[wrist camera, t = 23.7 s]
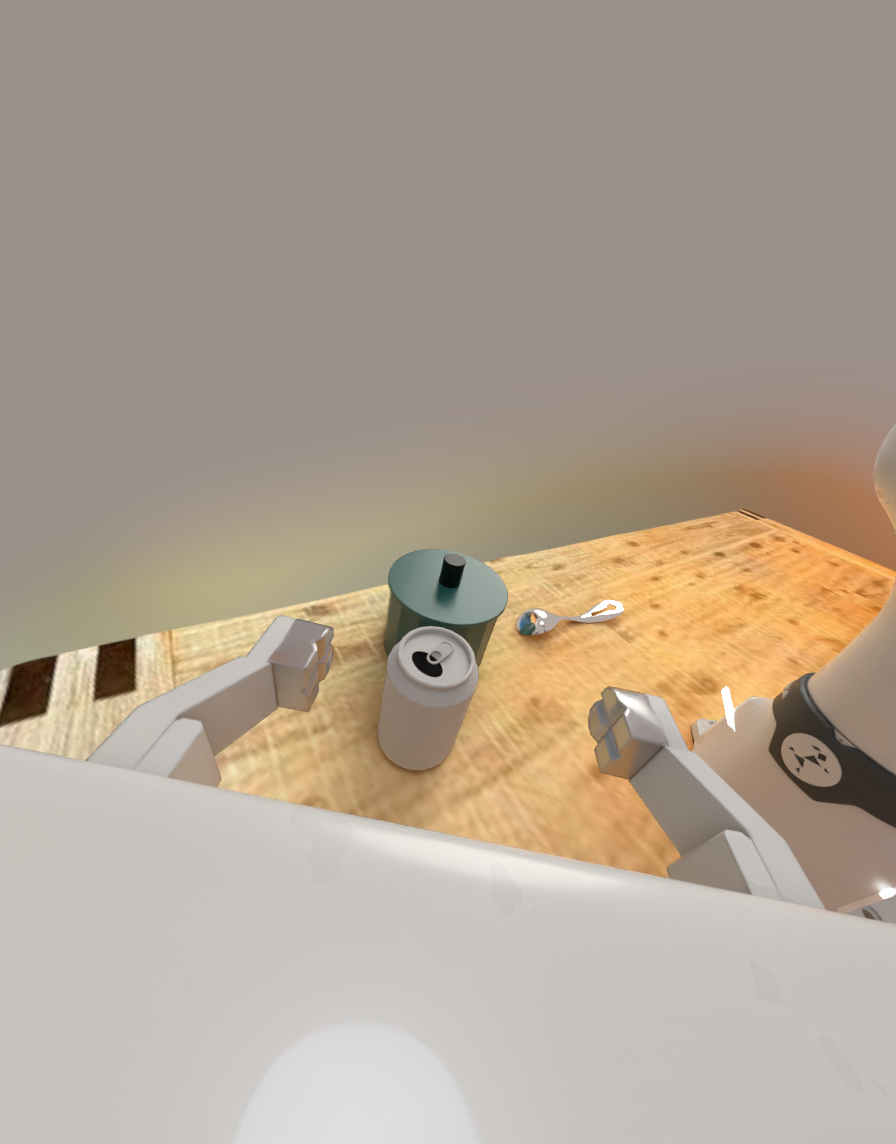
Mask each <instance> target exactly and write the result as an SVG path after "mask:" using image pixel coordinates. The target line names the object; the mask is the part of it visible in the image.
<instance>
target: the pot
mask: <svg viewBox="0 0 896 1144" xmlns="http://www.w3.org/2000/svg"><path fill="white" fill-rule="evenodd" d="M496 620H497V618H496V619H495V620H494V621H492V622H490V623H487V624H485V625H482V626H477V627H470V628H454V627H446V626H441V625H437V624H434V623H431V622H428V621H425V620H423V619H421V618H419V617H417V616H415V615H413V614H412V613H410V612H409V611H407V610H406V609H405V608H403V607H402V606H401V605H400V604H399V603H398V602H397V601H396V599H395V598H394V596H393V595H392V593H391V591H390V599H389V606H388V613H387V621H386V628H385V649H386V653H387V655H388V657H389V654H390V653H391V651H392V649H393V648H394V646H395V645H396V644H398V643H399V642H400V641H401V640H402V638H403V637H404V636H405V635H406V634H408V633H409V632H410V631H412V630H415V629H417V628H420V627H428V626H434V627H442V628H445V629H448V630H451V631H453V632H455V633H456V634H458V635H460V636H461V637H463V638H464V639H465V641H466V642H467V643H468V644H469V645H470V647H471V648H472V650H473V652H474V656H475V662H476V664H477V667H478V666H479V665H480V663H481V660H482V657H483V655H484V652H485V649H486V647H487V644H488V641H489V639H490V636H491V633H492V631H493V628H494V625H495V623H496Z"/></svg>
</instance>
